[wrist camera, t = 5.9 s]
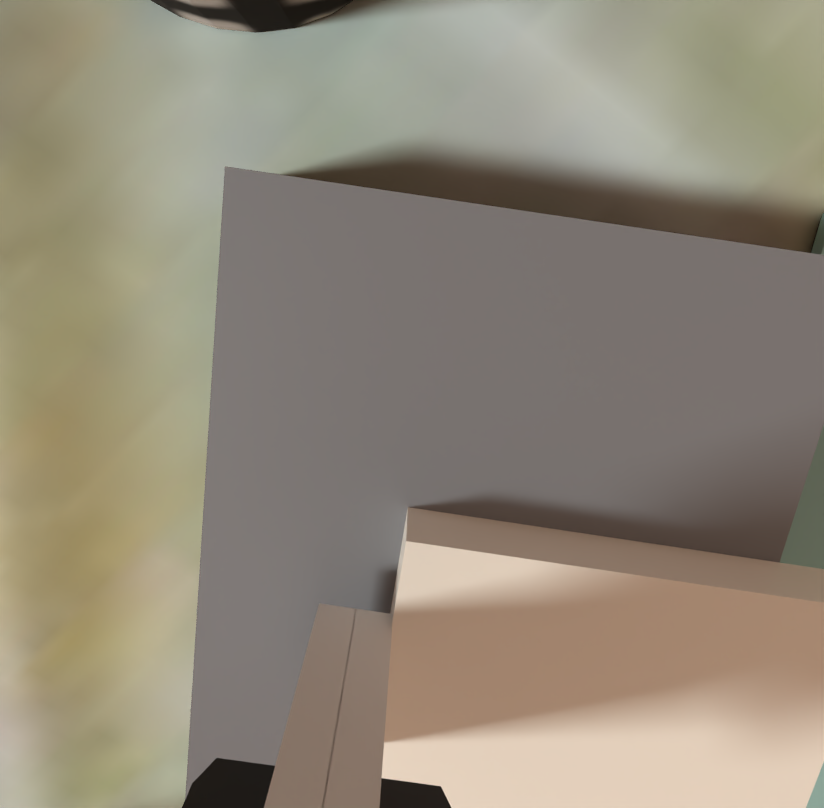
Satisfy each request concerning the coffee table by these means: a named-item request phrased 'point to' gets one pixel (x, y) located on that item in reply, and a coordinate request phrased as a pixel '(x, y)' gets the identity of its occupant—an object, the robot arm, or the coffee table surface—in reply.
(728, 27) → the coffee table surface
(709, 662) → the block
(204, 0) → the spotted tube
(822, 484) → the mat
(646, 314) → the grey flat box
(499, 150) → the coffee table surface
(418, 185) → the coffee table surface
